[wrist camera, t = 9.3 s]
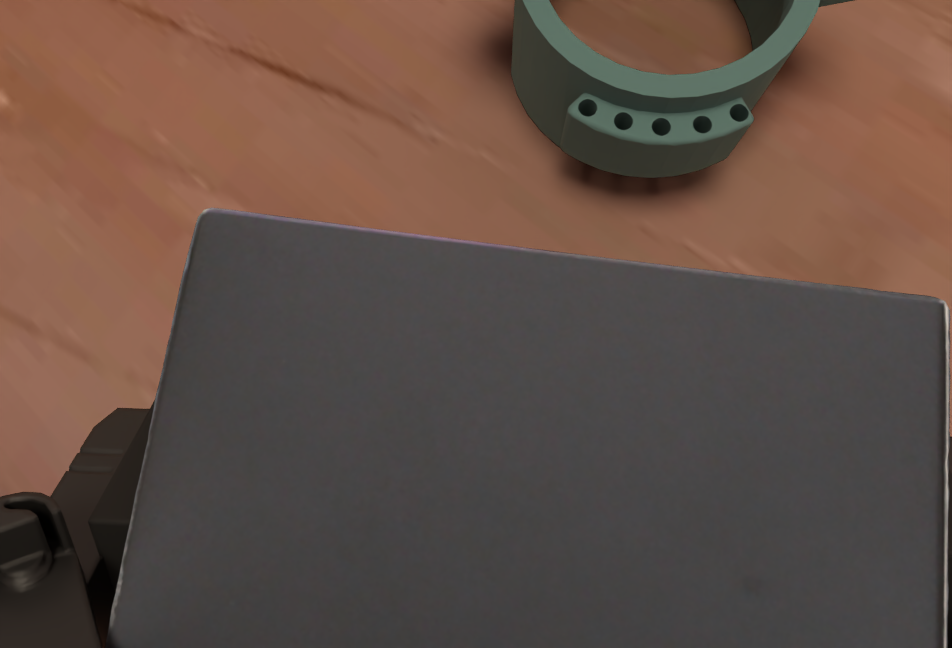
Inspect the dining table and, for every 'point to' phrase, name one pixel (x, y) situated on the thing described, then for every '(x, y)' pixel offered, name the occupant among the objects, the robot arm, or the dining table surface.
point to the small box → (532, 453)
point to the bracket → (647, 92)
